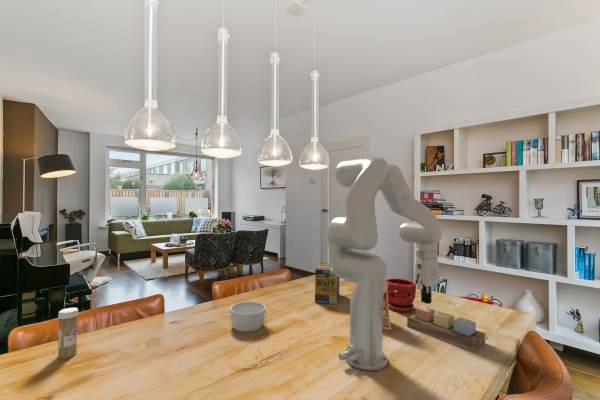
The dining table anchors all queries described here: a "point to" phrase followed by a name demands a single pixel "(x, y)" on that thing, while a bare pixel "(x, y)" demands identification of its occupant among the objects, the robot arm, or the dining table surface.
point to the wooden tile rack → (447, 334)
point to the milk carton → (386, 309)
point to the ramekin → (247, 316)
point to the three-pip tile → (425, 313)
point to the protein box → (326, 284)
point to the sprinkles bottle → (67, 332)
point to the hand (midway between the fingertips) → (426, 302)
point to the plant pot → (401, 294)
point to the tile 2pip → (443, 319)
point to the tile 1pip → (464, 326)
